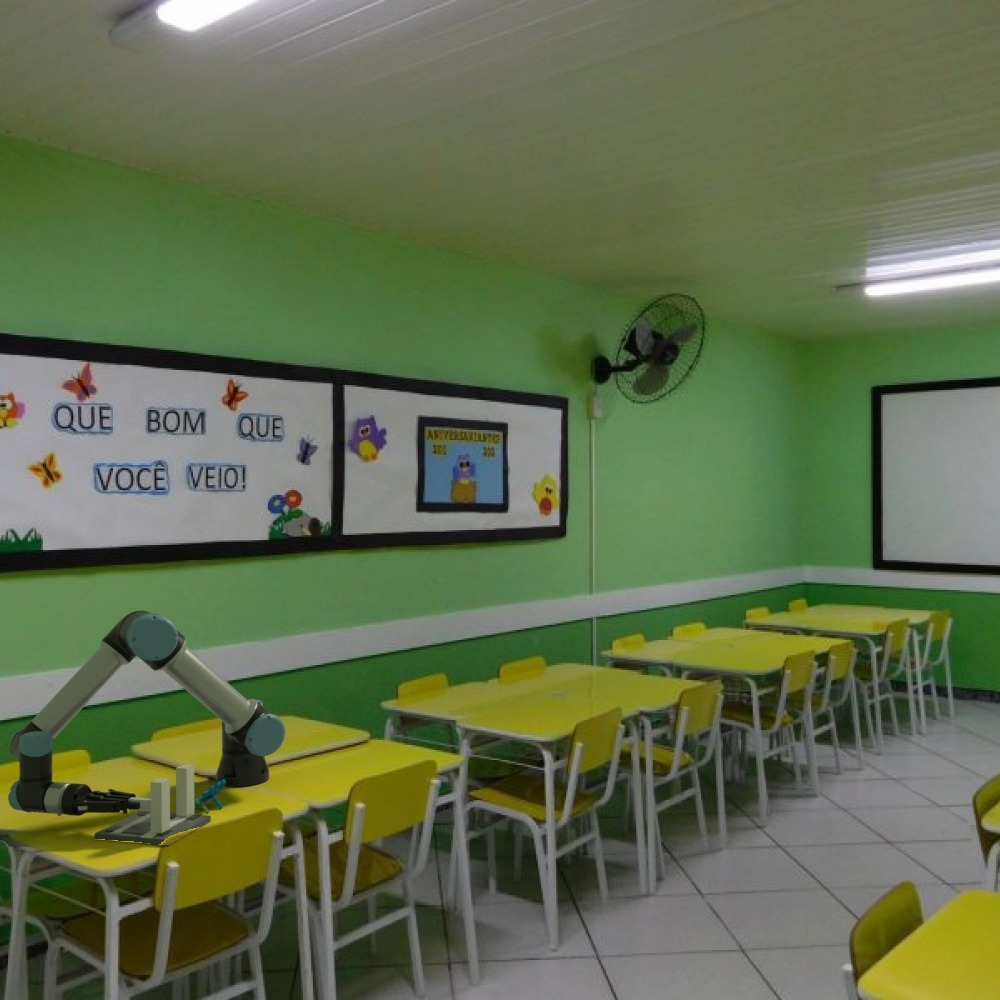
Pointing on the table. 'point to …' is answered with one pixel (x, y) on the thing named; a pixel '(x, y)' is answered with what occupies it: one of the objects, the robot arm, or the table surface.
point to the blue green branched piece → (210, 796)
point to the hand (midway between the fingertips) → (153, 805)
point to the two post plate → (180, 821)
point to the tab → (160, 805)
